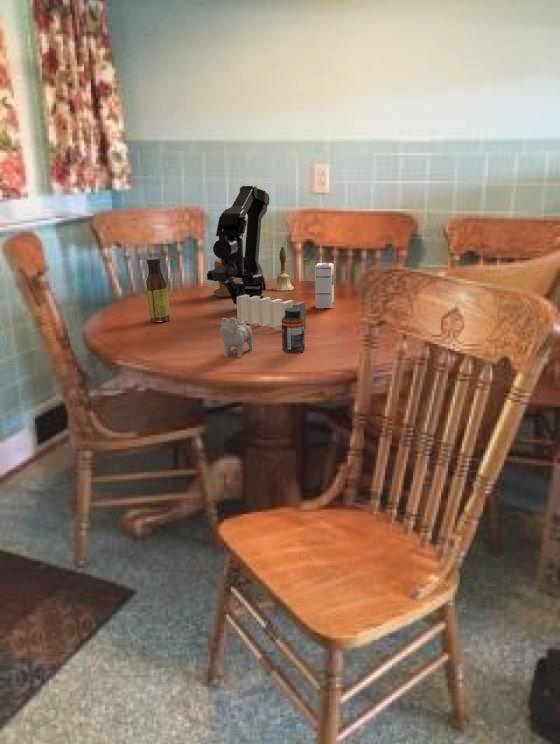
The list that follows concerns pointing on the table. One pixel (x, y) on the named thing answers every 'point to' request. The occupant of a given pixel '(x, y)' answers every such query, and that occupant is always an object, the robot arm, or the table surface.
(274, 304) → the domino
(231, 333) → the grey animal figure
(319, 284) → the syrup box
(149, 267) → the sauce bottle
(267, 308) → the domino
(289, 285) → the hand bell
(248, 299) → the domino
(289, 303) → the domino
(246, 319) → the domino
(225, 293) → the stone cup
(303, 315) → the domino
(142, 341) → the table surface
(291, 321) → the supplement bottle
